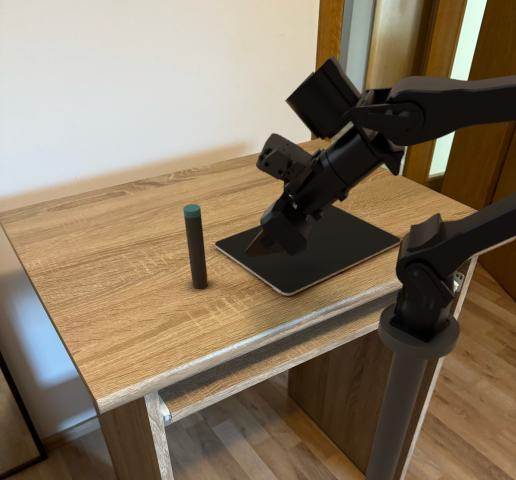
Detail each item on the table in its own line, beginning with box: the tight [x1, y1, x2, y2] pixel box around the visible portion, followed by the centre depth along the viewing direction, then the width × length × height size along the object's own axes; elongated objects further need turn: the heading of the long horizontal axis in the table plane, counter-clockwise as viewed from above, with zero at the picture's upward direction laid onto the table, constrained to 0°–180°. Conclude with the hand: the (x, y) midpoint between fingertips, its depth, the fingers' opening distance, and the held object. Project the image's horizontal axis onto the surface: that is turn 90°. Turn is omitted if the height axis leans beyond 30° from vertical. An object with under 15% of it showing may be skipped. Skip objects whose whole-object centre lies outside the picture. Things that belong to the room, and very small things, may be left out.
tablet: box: [214, 204, 402, 297], centre depth 85 cm, size 27×1×20 cm
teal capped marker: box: [183, 203, 209, 290], centre depth 72 cm, size 2×2×13 cm
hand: (256, 237), depth 69 cm, fingers open, 9 cm apart
